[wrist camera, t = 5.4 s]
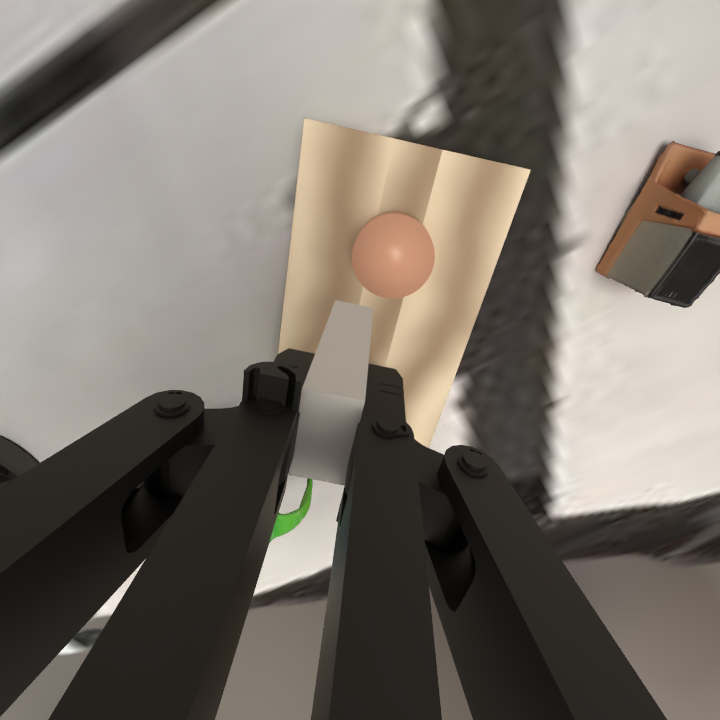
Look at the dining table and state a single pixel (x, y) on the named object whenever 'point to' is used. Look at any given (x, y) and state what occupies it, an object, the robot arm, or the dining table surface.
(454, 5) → the dining table surface
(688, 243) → the electronic device
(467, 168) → the switch box
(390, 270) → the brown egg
